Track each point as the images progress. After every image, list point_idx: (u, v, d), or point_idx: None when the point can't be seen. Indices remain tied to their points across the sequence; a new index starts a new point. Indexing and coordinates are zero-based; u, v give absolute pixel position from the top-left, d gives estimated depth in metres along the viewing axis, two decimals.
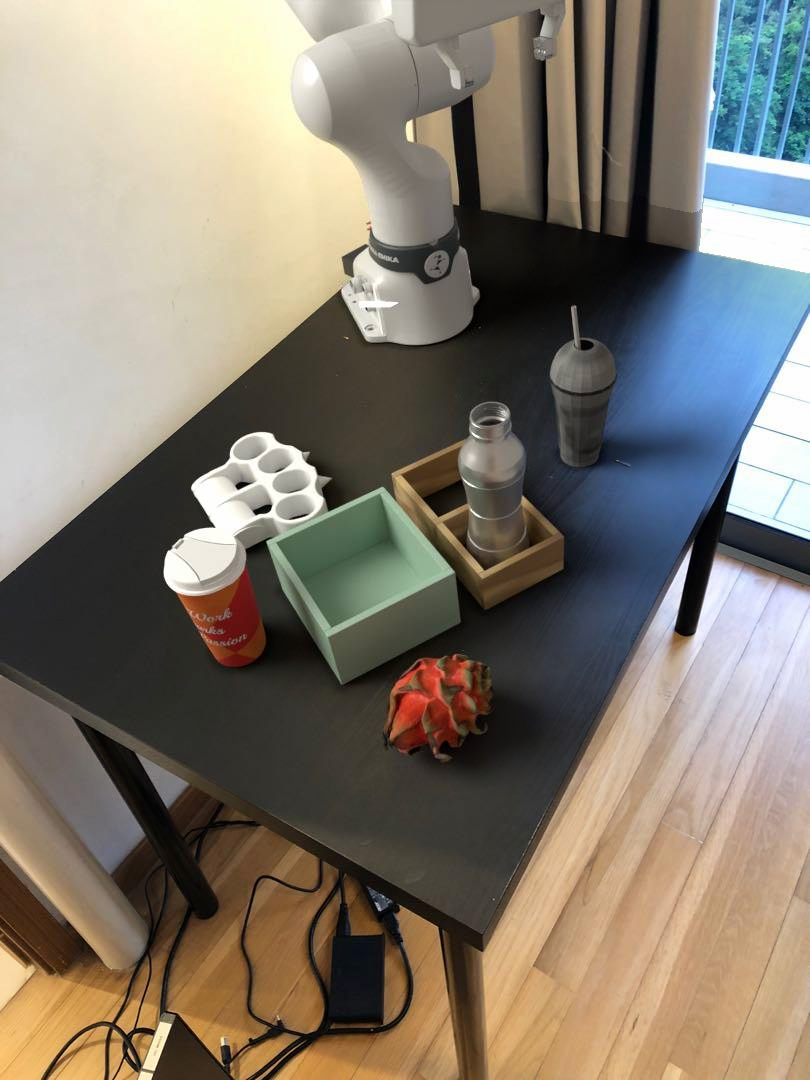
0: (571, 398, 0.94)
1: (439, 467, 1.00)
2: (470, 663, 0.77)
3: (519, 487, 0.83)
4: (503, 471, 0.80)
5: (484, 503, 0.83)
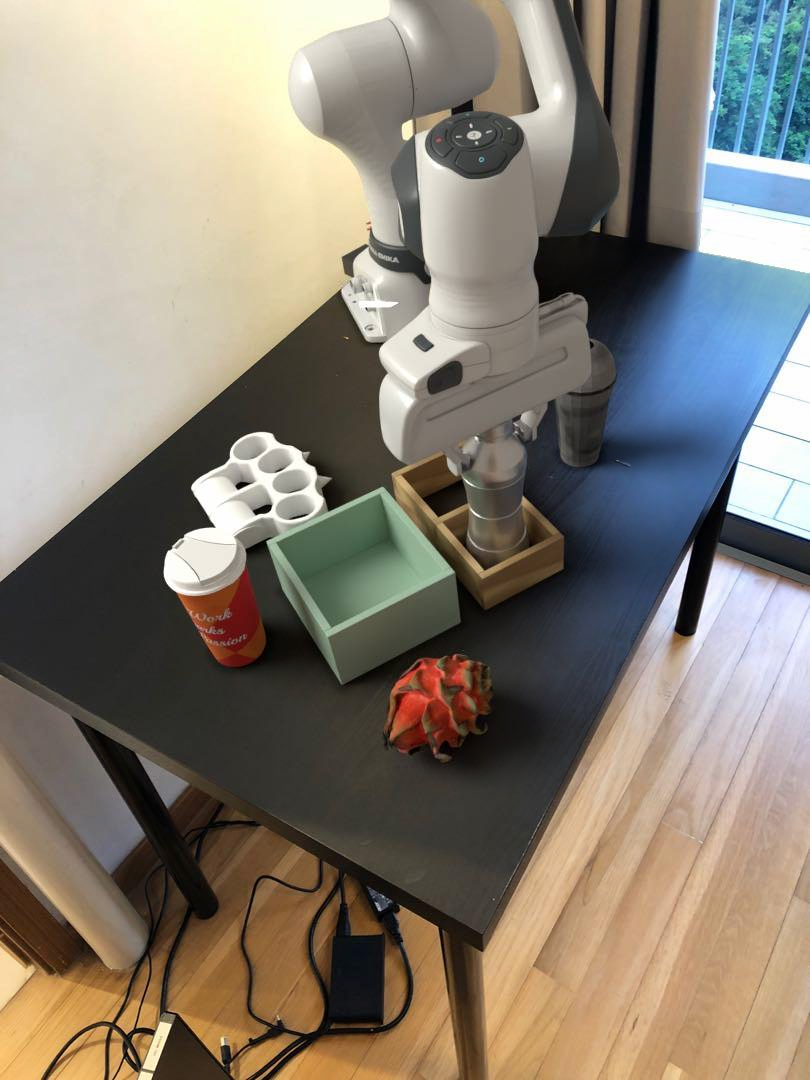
0: (571, 398, 0.94)
1: (439, 467, 1.00)
2: (470, 663, 0.77)
3: (520, 487, 0.83)
4: (504, 471, 0.80)
5: (484, 503, 0.83)
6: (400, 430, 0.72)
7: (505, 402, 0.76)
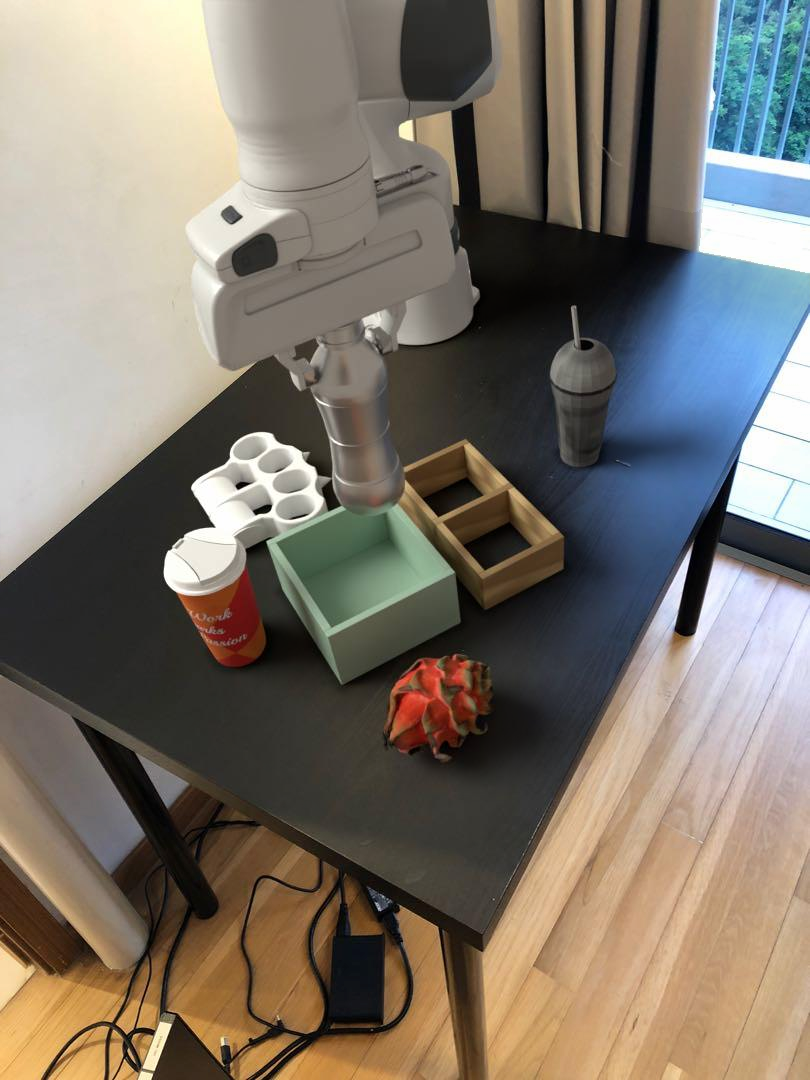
0: (571, 398, 0.94)
1: (439, 467, 1.00)
2: (470, 663, 0.77)
3: (380, 407, 0.71)
4: (356, 384, 0.68)
5: (339, 425, 0.71)
6: (210, 324, 0.60)
7: (347, 297, 0.64)
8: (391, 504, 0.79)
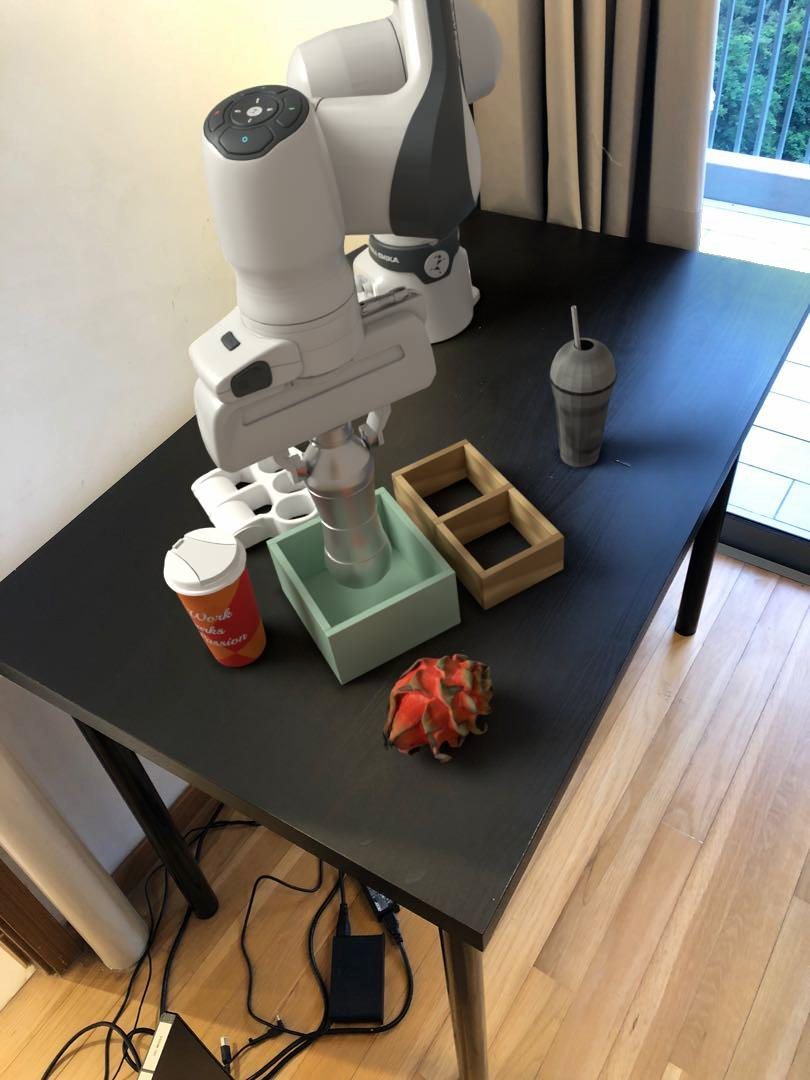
0: (571, 398, 0.94)
1: (439, 467, 1.00)
2: (470, 663, 0.77)
3: (368, 496, 0.78)
4: (344, 479, 0.74)
5: (330, 512, 0.78)
6: (211, 436, 0.66)
7: (336, 405, 0.70)
8: (379, 578, 0.85)
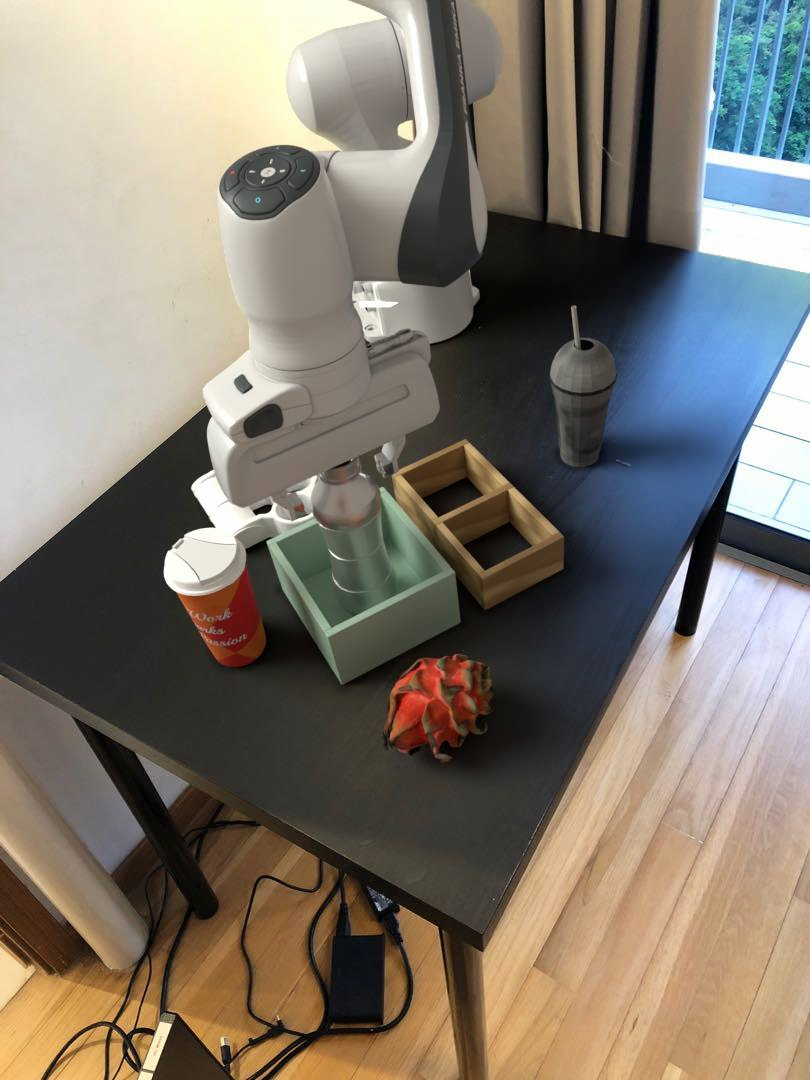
0: (571, 398, 0.94)
1: (439, 467, 1.00)
2: (470, 663, 0.77)
3: (374, 528, 0.81)
4: (352, 513, 0.78)
5: (338, 544, 0.81)
6: (224, 473, 0.69)
7: (343, 442, 0.73)
8: None
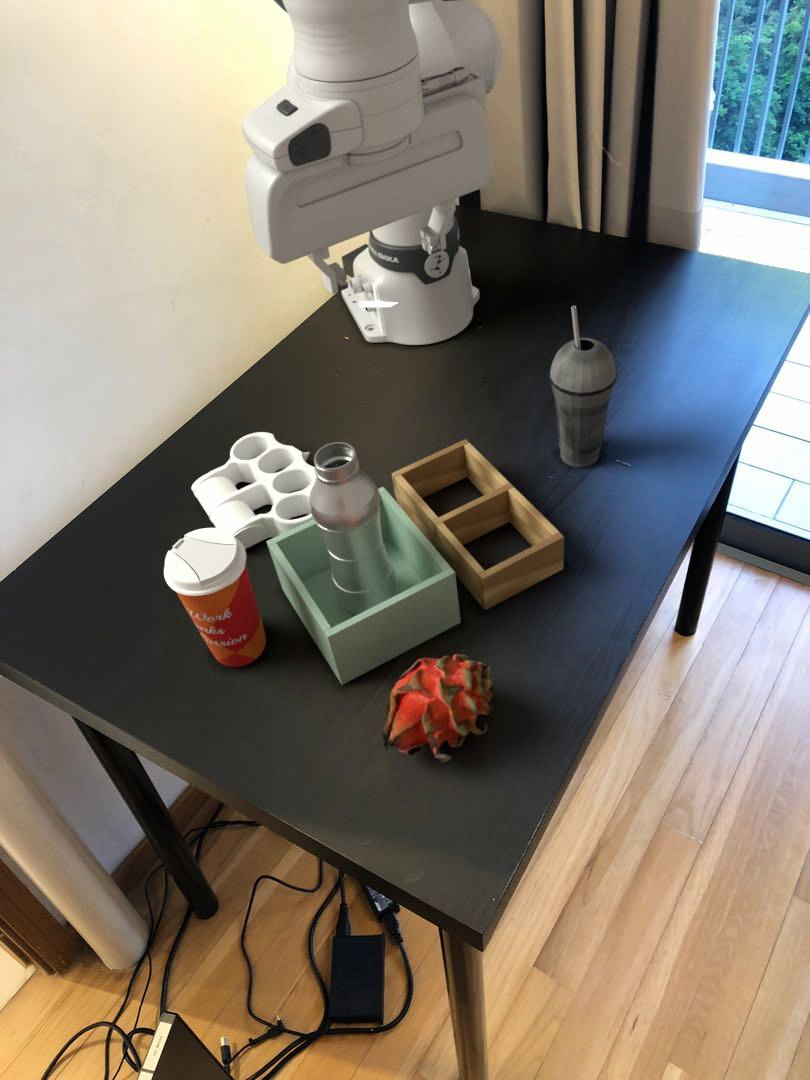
0: (571, 398, 0.94)
1: (439, 467, 1.00)
2: (470, 663, 0.77)
3: (373, 528, 0.81)
4: (351, 514, 0.78)
5: (337, 545, 0.81)
6: (265, 215, 0.64)
7: (391, 195, 0.68)
8: None
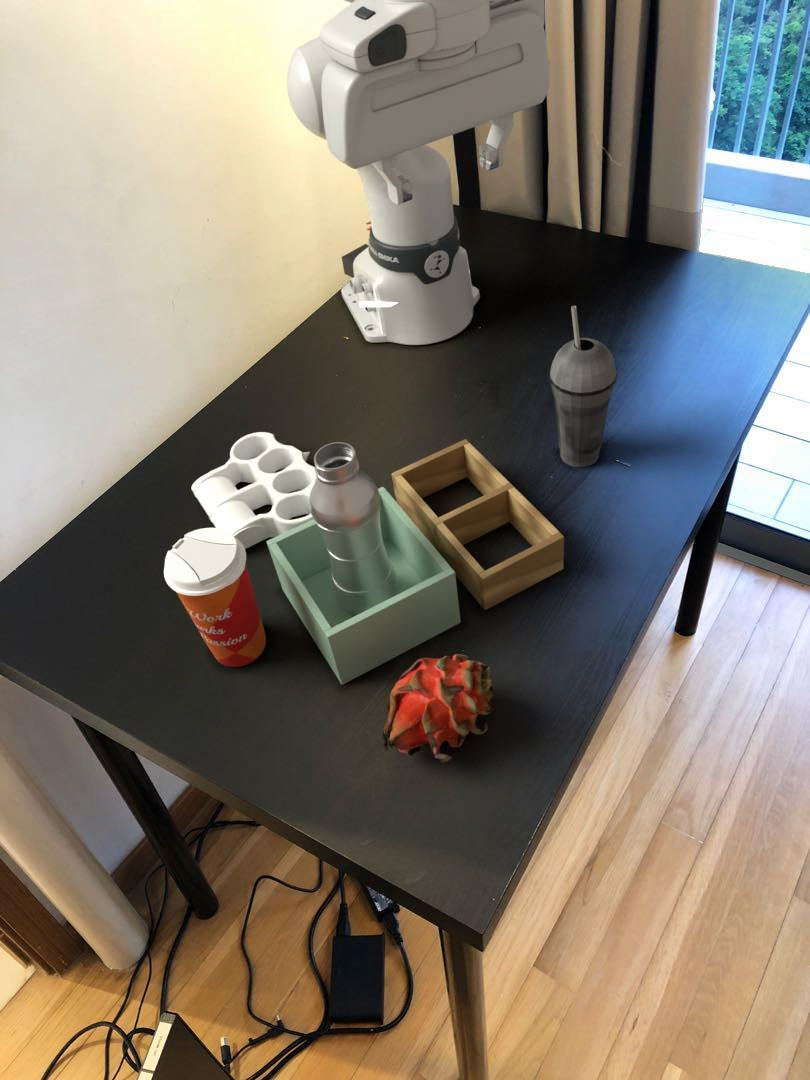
0: (571, 398, 0.94)
1: (439, 467, 1.00)
2: (470, 663, 0.77)
3: (373, 528, 0.81)
4: (351, 514, 0.78)
5: (337, 544, 0.81)
6: (342, 117, 0.68)
7: (457, 104, 0.72)
8: None
